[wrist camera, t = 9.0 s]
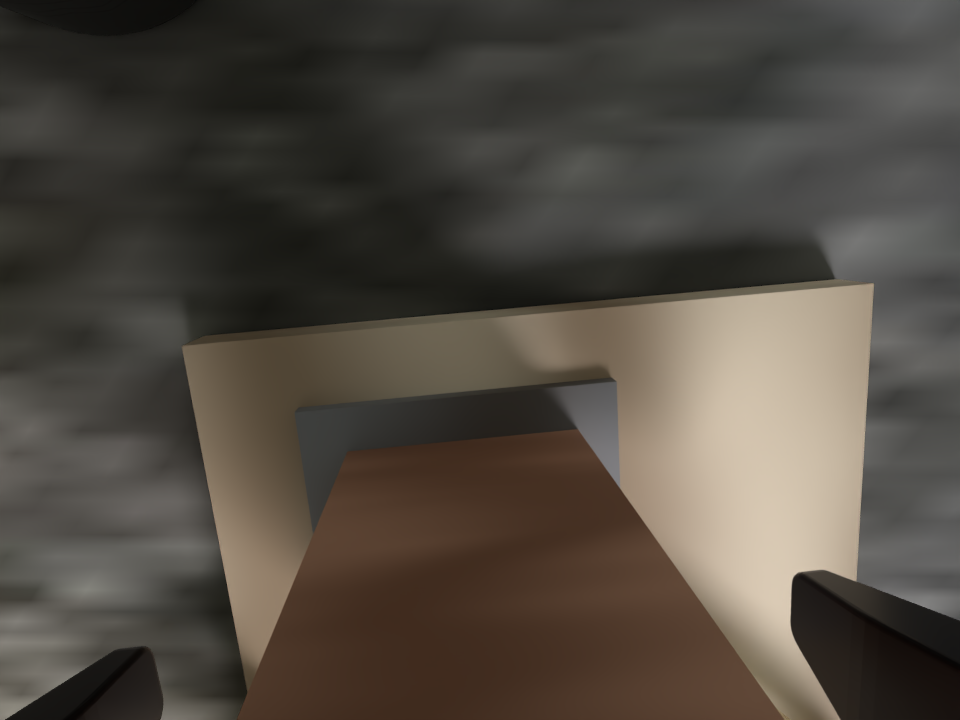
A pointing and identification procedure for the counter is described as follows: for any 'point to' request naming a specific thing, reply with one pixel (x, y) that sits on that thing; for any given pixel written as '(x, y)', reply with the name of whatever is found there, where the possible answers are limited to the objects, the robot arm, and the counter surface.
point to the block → (493, 598)
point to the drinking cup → (100, 14)
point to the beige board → (567, 406)
